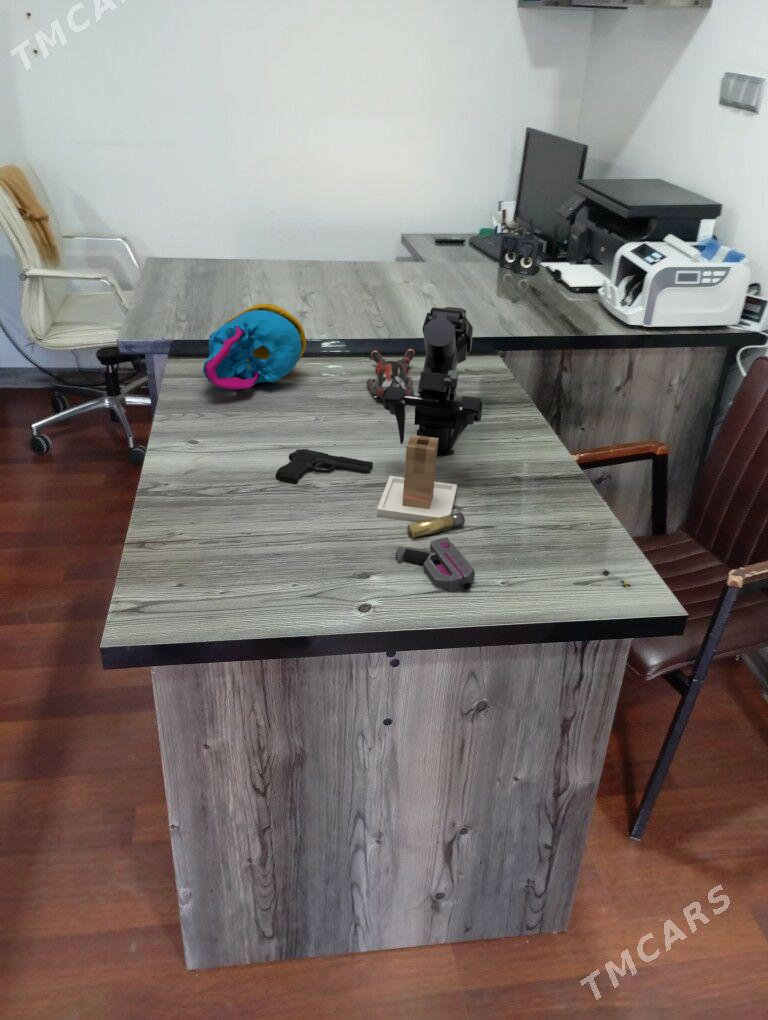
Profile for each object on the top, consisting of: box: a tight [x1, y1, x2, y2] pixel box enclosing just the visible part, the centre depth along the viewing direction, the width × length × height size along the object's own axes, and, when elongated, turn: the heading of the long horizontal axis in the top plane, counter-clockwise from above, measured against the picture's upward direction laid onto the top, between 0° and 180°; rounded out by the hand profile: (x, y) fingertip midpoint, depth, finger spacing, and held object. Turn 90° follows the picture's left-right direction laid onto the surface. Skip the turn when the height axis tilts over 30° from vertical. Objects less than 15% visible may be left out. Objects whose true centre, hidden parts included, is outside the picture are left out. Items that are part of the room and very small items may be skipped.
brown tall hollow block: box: [402, 434, 439, 509], centre depth 151 cm, size 5×5×12 cm
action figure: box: [366, 348, 416, 399], centre depth 200 cm, size 10×11×30 cm
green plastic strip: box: [601, 569, 631, 588], centre depth 136 cm, size 6×1×2 cm
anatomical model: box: [202, 302, 307, 390], centre depth 195 cm, size 18×25×25 cm
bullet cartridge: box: [406, 511, 466, 539], centre depth 146 cm, size 10×2×2 cm, turn 118°
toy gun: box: [395, 537, 476, 592], centre depth 135 cm, size 14×3×10 cm
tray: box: [376, 475, 458, 523], centre depth 154 cm, size 13×13×2 cm
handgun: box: [274, 448, 374, 485], centre depth 162 cm, size 3×17×12 cm
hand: (425, 446), depth 155 cm, fingers open, 9 cm apart
